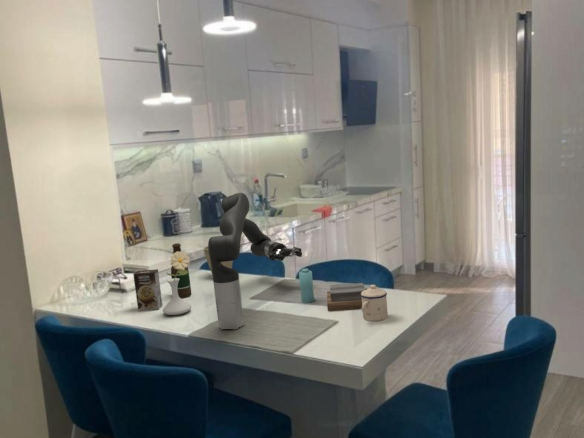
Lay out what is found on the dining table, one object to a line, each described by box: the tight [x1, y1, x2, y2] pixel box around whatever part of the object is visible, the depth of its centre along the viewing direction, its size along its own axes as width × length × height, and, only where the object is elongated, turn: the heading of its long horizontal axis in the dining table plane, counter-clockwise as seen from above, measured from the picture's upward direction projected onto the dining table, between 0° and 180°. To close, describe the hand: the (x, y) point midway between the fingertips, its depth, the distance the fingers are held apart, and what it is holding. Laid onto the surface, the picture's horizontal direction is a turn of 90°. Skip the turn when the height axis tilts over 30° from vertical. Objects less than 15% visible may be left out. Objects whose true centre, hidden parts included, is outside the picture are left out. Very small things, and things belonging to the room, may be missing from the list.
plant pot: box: [203, 245, 234, 273], centre depth 274 cm, size 15×15×16 cm
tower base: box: [326, 282, 368, 312], centre depth 214 cm, size 16×16×6 cm
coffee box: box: [133, 268, 163, 312], centre depth 233 cm, size 9×6×16 cm
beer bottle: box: [170, 243, 192, 300], centre depth 246 cm, size 8×8×24 cm
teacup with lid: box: [361, 284, 389, 322], centre depth 193 cm, size 12×9×12 cm
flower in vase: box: [162, 250, 192, 316], centre depth 222 cm, size 13×11×25 cm
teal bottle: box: [298, 268, 315, 304], centre depth 222 cm, size 5×5×13 cm
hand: (291, 256), depth 231 cm, fingers open, 8 cm apart
